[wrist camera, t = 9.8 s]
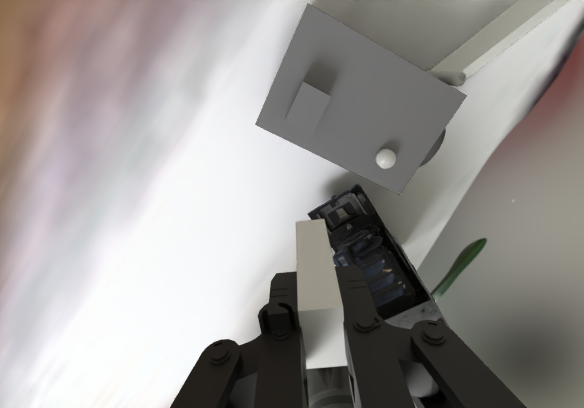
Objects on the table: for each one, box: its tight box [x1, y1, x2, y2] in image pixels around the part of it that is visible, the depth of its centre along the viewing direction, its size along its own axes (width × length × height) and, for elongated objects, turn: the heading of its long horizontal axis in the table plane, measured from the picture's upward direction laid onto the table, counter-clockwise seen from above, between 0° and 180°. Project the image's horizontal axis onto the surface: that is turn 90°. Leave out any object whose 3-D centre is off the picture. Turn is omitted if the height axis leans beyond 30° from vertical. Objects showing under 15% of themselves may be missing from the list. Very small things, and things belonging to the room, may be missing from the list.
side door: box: [426, 0, 570, 86], centre depth 34 cm, size 2×13×8 cm, turn 130°
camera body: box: [255, 4, 467, 195], centre depth 35 cm, size 12×20×12 cm, turn 64°
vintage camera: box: [308, 184, 450, 329], centre depth 40 cm, size 10×16×20 cm, turn 34°
